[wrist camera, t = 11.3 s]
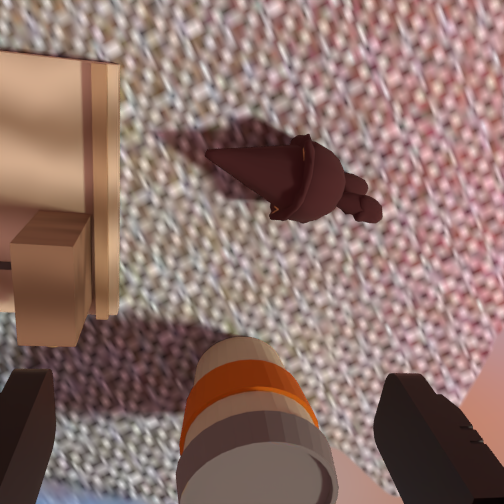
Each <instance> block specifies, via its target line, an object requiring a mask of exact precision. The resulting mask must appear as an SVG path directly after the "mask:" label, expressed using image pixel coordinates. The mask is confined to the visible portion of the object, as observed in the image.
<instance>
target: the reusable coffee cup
mask: <svg viewBox="0 0 504 504" xmlns="http://www.w3.org/2000/svg"><path fill="white" fill-rule="evenodd" d="M179 446H180V456H181V457H180V459H179V462H178V465H177V471H176V483H177V492H178V501H179V504H335V503H336V500H337V496H338V488H339V487H338V481H337V475H336V471H335V467H334V462H333V457H332V453H331V448H330V445H329V443H328V441H327V439H326V437H325V436H324V435H323V433H322V432H321V431H320V430H319V426H318V421H317V419H316V416H315V414H314V412H313V410H312V408H311V407H310V405H309V403H308V401H307V399H306V397H305V396H304V394H303V392H302V390H301V388H300V386H299V384H298V383H297V381H296V380H295V378H294V377H293V376H292V375H291V374H290V373H289V372H288V371H286V369H285V368H284V366H283V364H282V362H281V360H280V358H279V356H278V354H277V353H276V351H275V350H274V349H273V348H272V347H271V346H270V345H268V344H267V343H265V342H263V341H261V340H259V339H256V338H252V337H233V338H229V339H225V340H223V341H220V342H218V343H216V344H215V345H213V346H212V347H210V348H209V349H208V350H207V351H206V352H205V353H204V354H203V355H202V357H201V358H200V360H199V362H198V364H197V368H196V373H195V379H194V386H193V388H192V390H191V392H190V394H189V396H188V398H187V403H186V408H185V414H184V420H183V426H182V432H181V438H180V444H179Z"/></svg>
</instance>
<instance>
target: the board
mask: <svg viewBox="0 0 504 504" xmlns="http://www.w3.org/2000/svg"><path fill="white" fill-rule="evenodd" d="M39 210H40V211H55V212H69V213H84V214H91V235H92V303H91V305H90V308H89V311H88V314H96V319H101V320H108V317H109V315H117V314H118V310H119V231H120V64H114V63H105V62H97V61H88V60H79V59H71V58H62V57H53V56H44V55H36V54H27V53H18V52H9V51H1V50H0V312H15V305H14V292H13V280H12V268H11V255H10V242H11V241H12V240H13V239H14V238H15V237H16V235H17V234H18V233H19V232H20V231H21V230H22V229H23V228H24V227H25V225H26V224H27V223H28V222H29V221H30V220H31V219H32V218H33V216H34V215H35V214H36V213H37V212H38V211H39Z"/></svg>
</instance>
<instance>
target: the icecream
mask: <svg viewBox="0 0 504 504" xmlns="http://www.w3.org/2000/svg"><path fill="white" fill-rule="evenodd" d="M205 157H206V158H208V159H209V160H210V161H212V162H213V163H214V164H216V165H217V166H219V167H220V168H222V169H223V170H225V171H226V172H227V173H229V174H230V175H232V176H233V177H234V178H236V179H237V180H239V181H240V182H242V183H243V184H244V185H246V186H247V187H249V188H250V189H251V190H253V191H254V192H256V193H257V194H259V195H260V196H261V197H263V198H264V199H266V200H267V201H268V202H270V203H271V204H270V209H271V213H270V215H269V217H270V219H271V220H281V221H285V220H287V219H289V220H293V221H299V222H300V223H307V222H309V221H313V220H317V219H319V218H320V217H322V216H324V215H327V214H328V213H330V212H332V211H333V210H334V209H335V208H336V206H337V207H338V208H340V209H341V210H342V211H343V212H344V213H345V214H351V215H353V217H354V219H355V221H358V222H361V221H363V222H367V223H377V222H378V221H380V220H381V219H382V217H383V216H382V206H381V205H380V204H379V202H378V201H377V200H375V199H374V198H372V197H370V196H367V195H365V194H366V193H367V191H368V185H367V183H366V181H365V180H363V179H362V178H360V177H358V176H356V175H354V174H349V173H344V170H343V167H342V165H341V163H340V160H339V159H338V158H337V157H336V156H335V155H334V154H333V152H332V151H330V150H328V149H327V148H325V147H323V146H322V145H320V144H318V143H317V142H314V141H311V138H310V135H309V134H307V135H298V136H296V137H295V138H293V139H292V141H291V143H290V145H282V146H264V147H246V148H223V149H207V151H206V153H205Z"/></svg>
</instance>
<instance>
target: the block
mask: <svg viewBox="0 0 504 504" xmlns="http://www.w3.org/2000/svg"><path fill="white" fill-rule="evenodd" d="M10 255H11V268H12V280H13V292H14V305H15V317H16V329H17V342H18V346H47V347H58V346H62V347H76V345H77V342H78V339H79V336H80V333H81V331H82V328H83V325H84V322H85V319H86V317H87V314H88V311H89V308H90V305H91V303H92V235H91V214H84V213H69V212H55V211H40V210H39V211H38V212H37V213H36V214H35V215H34V216H33V218H32V219H31V220H30V221H29V222H28V223H27V224H26V225H25V227H24V228H23V229H22V230H21V231H20V232H19V233H18V234H17V235H16V237H15V238H14V239H13V240H12V241H11V242H10Z"/></svg>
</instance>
